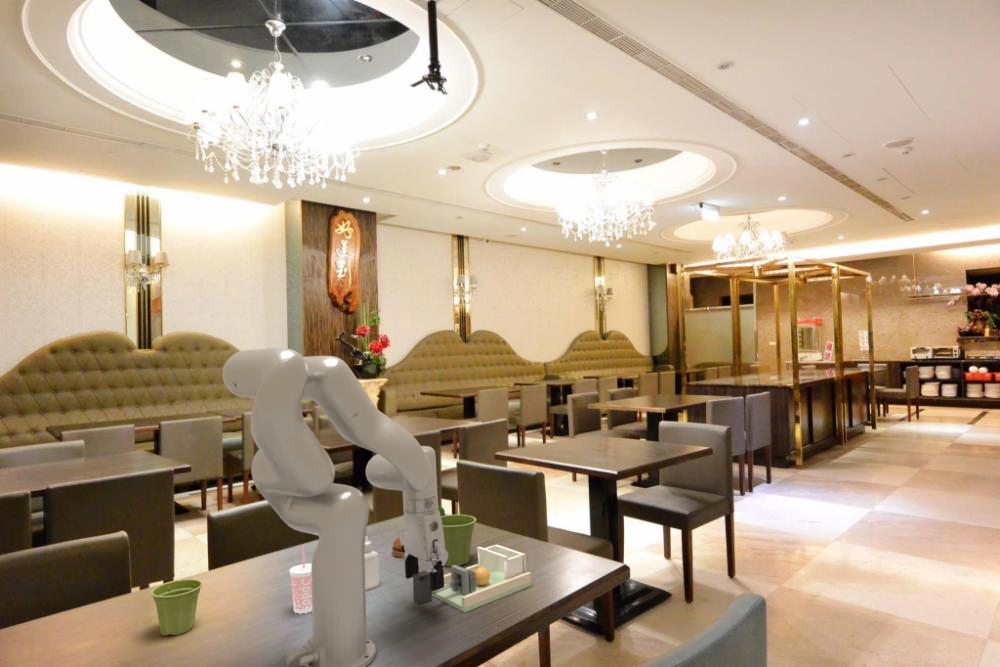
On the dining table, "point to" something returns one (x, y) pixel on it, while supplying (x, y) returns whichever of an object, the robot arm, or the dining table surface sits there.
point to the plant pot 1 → (176, 605)
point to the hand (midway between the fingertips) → (424, 582)
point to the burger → (397, 548)
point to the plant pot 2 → (457, 537)
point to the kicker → (425, 594)
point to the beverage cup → (301, 586)
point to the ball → (482, 576)
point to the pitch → (503, 579)
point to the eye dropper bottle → (371, 566)
